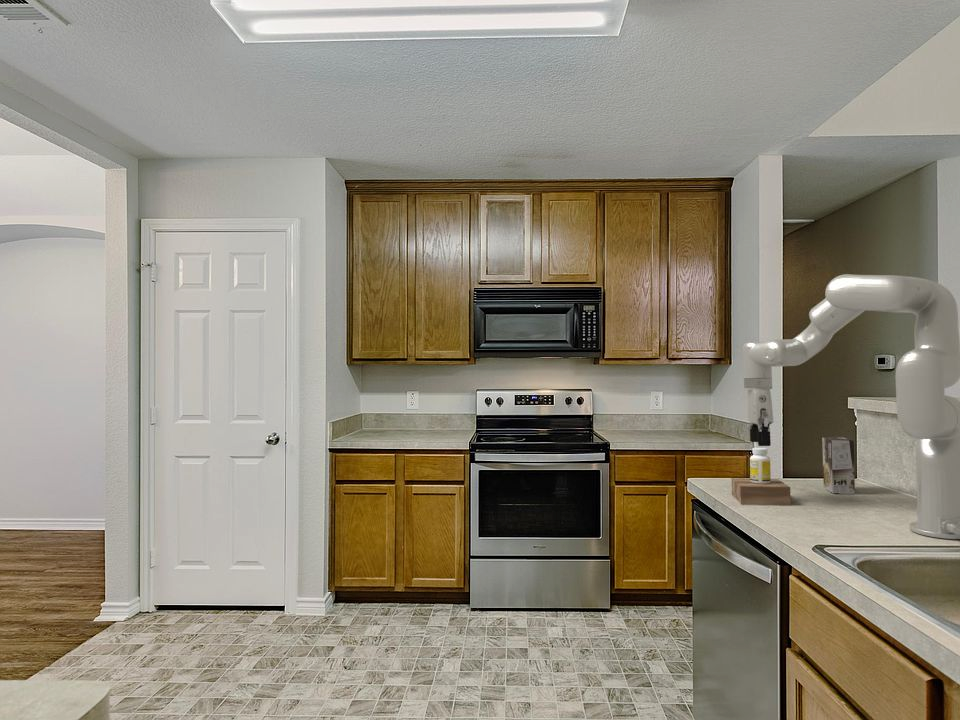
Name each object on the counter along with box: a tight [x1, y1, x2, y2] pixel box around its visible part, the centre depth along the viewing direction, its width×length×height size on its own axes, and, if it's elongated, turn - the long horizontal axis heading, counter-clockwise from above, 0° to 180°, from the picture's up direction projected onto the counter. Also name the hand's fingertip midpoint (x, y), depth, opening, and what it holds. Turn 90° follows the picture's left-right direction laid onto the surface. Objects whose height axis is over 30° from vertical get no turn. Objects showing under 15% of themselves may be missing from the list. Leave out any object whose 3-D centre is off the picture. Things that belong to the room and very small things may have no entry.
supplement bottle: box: [749, 447, 772, 484], centre depth 189 cm, size 5×5×10 cm
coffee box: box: [821, 436, 856, 495], centre depth 199 cm, size 9×6×16 cm
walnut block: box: [731, 477, 792, 506], centre depth 189 cm, size 13×13×5 cm
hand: (760, 443), depth 188 cm, fingers open, 9 cm apart
